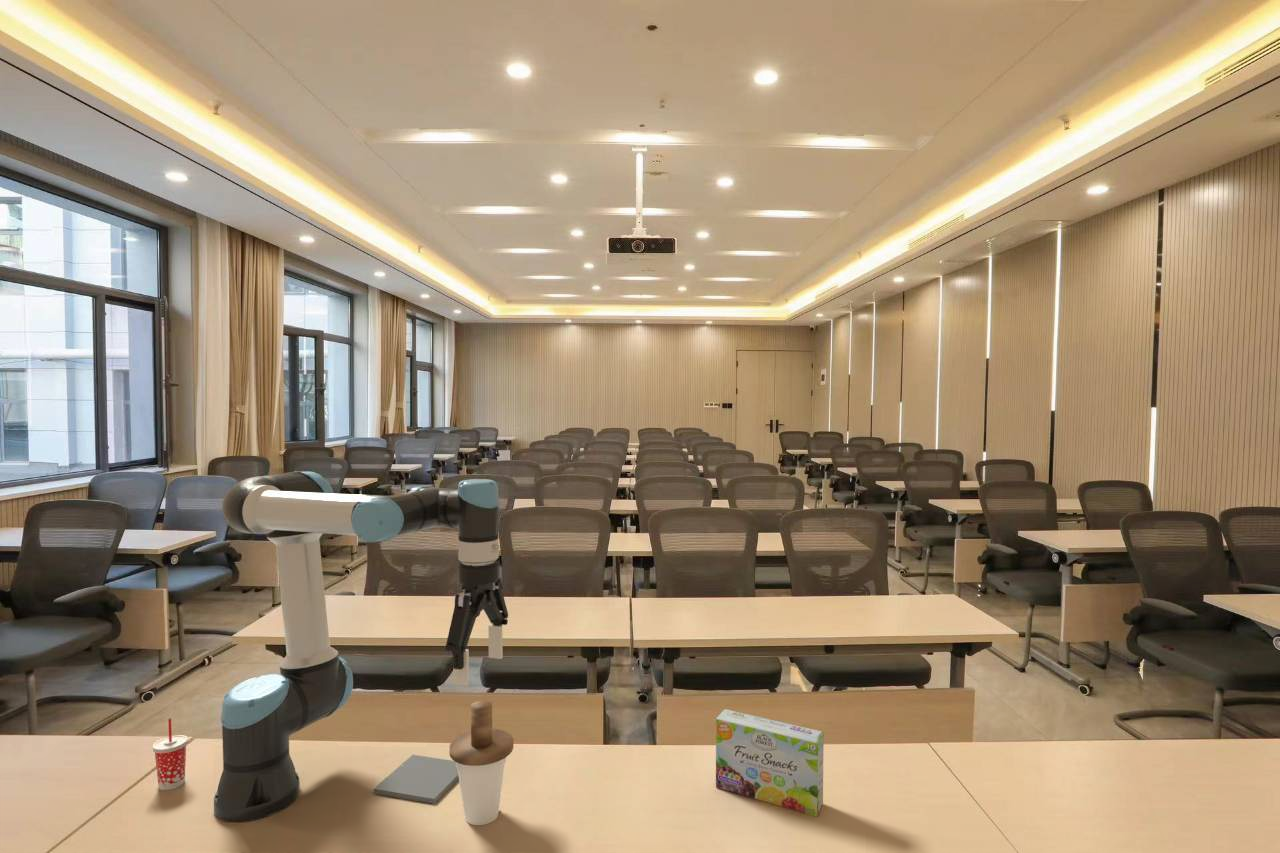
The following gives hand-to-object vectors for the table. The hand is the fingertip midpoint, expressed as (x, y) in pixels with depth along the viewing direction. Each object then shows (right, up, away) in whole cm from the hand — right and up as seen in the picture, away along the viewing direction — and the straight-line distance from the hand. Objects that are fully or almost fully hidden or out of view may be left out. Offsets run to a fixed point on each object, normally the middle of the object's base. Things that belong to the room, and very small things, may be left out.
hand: (479, 670), depth 134 cm
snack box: (+57, -28, +8) cm, 64 cm away
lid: (0, -15, +1) cm, 15 cm away
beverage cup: (-67, -28, +12) cm, 74 cm away
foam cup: (0, -29, +1) cm, 29 cm away
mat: (-15, -28, +14) cm, 34 cm away
